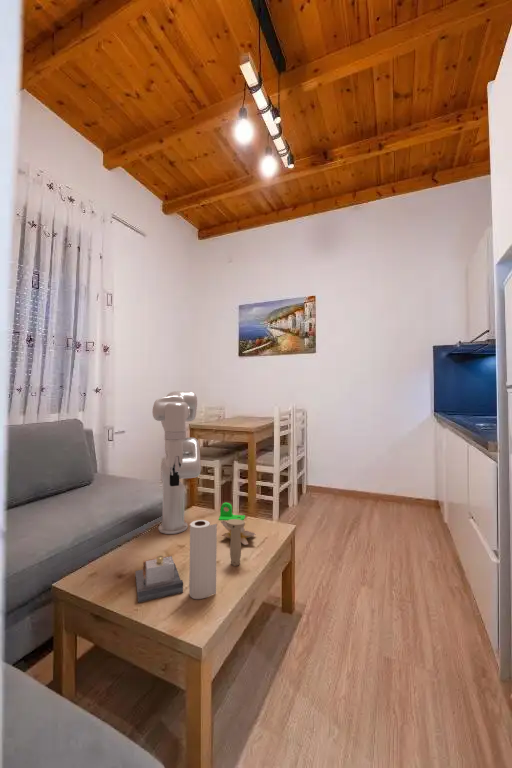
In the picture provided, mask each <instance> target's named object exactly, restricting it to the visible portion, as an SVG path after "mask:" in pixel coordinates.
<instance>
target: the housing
mask: <svg viewBox="0 0 512 768" xmlns="http://www.w3.org/2000/svg"><path fill="white" fill-rule="evenodd" d="M169 556H170V557H167V556H163V555H158V556H157V557H156V558H157V559H156V558H153V559H154V560H151V559H148V561H146V575H145V585H146V588H147V587H152V586H156V585H161V584H165V583H170V582H174V563H175V562H174V559H173V556H172V555H169ZM163 557H164V558H163Z"/></svg>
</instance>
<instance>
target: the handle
mask: <svg viewBox="0 0 512 768" xmlns="http://www.w3.org/2000/svg"><path fill="white" fill-rule="evenodd" d="M226 522H227V526H228V527H230V528H231V539H230V543H229V544H230V545H229V556H230V557H229V558H230V565H231V566H233V567H236V566H239V565H240V564H241V556H242V542H241V536H240V529H241V528H243V527H244V528H245V524H246V521H245V520H239V519H230V520H228V521H226Z"/></svg>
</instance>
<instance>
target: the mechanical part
mask: <svg viewBox="0 0 512 768" xmlns="http://www.w3.org/2000/svg"><path fill="white" fill-rule="evenodd" d="M225 508H227V509H228V510H227V511H226V510H225ZM219 511H220V513H219V515H220V516H219V518H218V521H226V522H227V521H228V520H230V519H239V520H243V521H245V519H246V515H245V514H243V515H242V514H240V515H239V514H233V506H232V504H231V503H230V502H223V503H222V504H221V506H220V510H219Z"/></svg>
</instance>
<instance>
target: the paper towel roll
mask: <svg viewBox="0 0 512 768" xmlns="http://www.w3.org/2000/svg"><path fill="white" fill-rule="evenodd" d="M217 525H218V524H217V523H215V524H211V522H210V521H208V520H205V519H197V520H193V521H192V522H190V523H189V579H188V580H189V583H188V584H189V586H188V590H189V591H188V593H189V597H190V598H191V599H194V600H201V599H206V598H208V597H210V596H212V595H215V594H217V546H218V545H217V536H218V535H217V529H218V527H217Z"/></svg>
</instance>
